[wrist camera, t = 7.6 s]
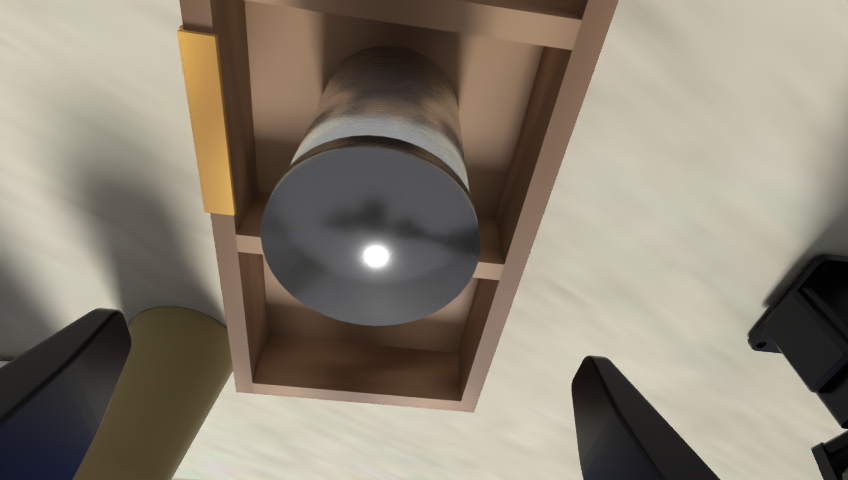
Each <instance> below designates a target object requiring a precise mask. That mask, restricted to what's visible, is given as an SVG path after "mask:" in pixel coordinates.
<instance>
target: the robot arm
mask: <svg viewBox="0 0 848 480" xmlns="http://www.w3.org/2000/svg"><path fill="white" fill-rule="evenodd" d="M131 344H132V341H131V336H130V333H129V330H128V327H127V324H126V321H125V317H124V315H123V313H122V312H121V311H120V310H114V309H104V308H98V309H95V310H92V311H91V312H89V313H87V314H86V315H84V316H83V317H81V318H79V319H78V320H76V321H75V322H73V323H71V324H70V325H68V326H66V327H65V328H63V329H62V330H60V331H58V332H57V333H55V334H54V335H52V336H50V337H49V338H47V339H46V340H44V341H42V342H41V343H39V344H38V345H36V346H34V347H33V348H31V349H29V350H28V351H26V352H25V353H23V354H21V355H20V356H18V357H17V358H15V359H13V360H12V361H10V362H9V363H7V364H5V365H4V366H2V367H0V480H73V478H74V476H75V474H76V473H77V471H78V469H79V467H80V465H81V463H82V461H83V459H84V457H85V455H86V453H87V452H88V450H89V448H90V446H91V444H92V442H93V440H94V438H95V436H96V434H97V432H98V430H99V428H100V426H101V424H102V421H103V419H104V417H105V414H106V412H107V409H108V407H109V404H110V401H111V399H112V396H113V394H114V391H115V389H116V386H117V384H118V381H119V378H120V376H121V373H122V371H123V368H124V366H125V363H126V361H127V358H128V355H129V353H130V350H131ZM748 344H749V345H750V346H751V348H752V349H753V350H755V351H763V352H773V353H782V354H783V355H784V357H785V358H786V359H787V361H788V362H789V363H790V365H791V366H792V367H793V369H794V370H795V371H796V373H797V374H798V376H799V377H800V378H801V380H802V381H803V382H804V384H805V385H806V386H807V388H808V389H809V390H810V391H811V392H814V393H816V394H817V395H818V397H819V398H820V399H821V401H822V402H823V403H824V405H825V406H826V407H827V409H828V410H829V412H830V413H831V414H832V416H833V417H834V418H835V420H836V421H837V422H838V424H839V425H840V426H841V428H844V429H848V257H843V256H834V255H821V256H818V257H816V258H814V259H813V260H812V261H811V262H810V263H809V264H808V266H807V267H806V268H805V269H804V271H803V272H802V273H801V274H800V276H799V277H798V278H797V279H796V281H795V282H794V283H793V284H792V286H791V287H790V288H789V289H788V290H787V292H786V293H785V294H784V295H783V297H782V298H781V299H780V300H779V302H778V303H777V304H776V305H775V307H774V308H773V309H772V310H771V312H770V313H769V314H768V315H767V316H766V318H765V319H764V320H763V321H762V323H761V324H760V325H759V326H758V328H757V329H756V330H755V331H754V333H753V334H752V335H751V336H750V338H749V339H748ZM572 399H573V408H574V417H575V425H576V434H577V443H578V451H579V458H580V465H581V470H582V475H583V479H584V480H720V479H719V478H718V477H717V476H716V474H715V473H714V472H713V471H712V470H711V469H710V468H709V467H708V466H707V465H706V464H705V463H704V461H703V460H702V459H701V458H700V457H699V456H698V455H697V454H696V453H695V452H694V451H693V450H692V448H691V447H690V446H689V445H688V444H687V443H686V442H685V441H684V440H683V439H682V438H681V437H680V435H679V434H678V433H677V432H676V431H675V430H674V429H673V428H672V427H671V426H670V425H669V424H668V422H667V421H666V420H665V419H664V418H663V417H662V416H661V415H660V414H659V413H658V412H657V411H656V410H655V408H654V407H653V406H652V405H651V404H650V403H649V402H648V401H647V400H646V399H645V398H644V397H643V395H642V394H641V393H640V392H639V391H638V390H637V389H636V388H635V387H634V386H633V385H632V384H631V382H630V381H629V380H628V379H627V378H626V377H625V376H624V375H623V374H622V373H621V372H620V371H619V369H618V368H617V367H616V366H615V365H614V364H613V363H612V362H611V361H610V360H609V359H608V358H606V357H600V356H587V357H585V358H584V360H583V361H582V363H581V365H580V367H579V369H578V371H577V373H576V375H575V377H574V379H573V381H572ZM811 450H812V453H813V455H814V457H815V460H816V462H817V464H818V467H819V470H820V472H821V475H822V477H823V479H824V480H848V430H847V431H846V432H844V433H842V434H840V435H839V436H837V437H835V438H833V439H831V440H830V441H828V442H826V443H820V444H818V445H816V446H814V447H812V448H811Z"/></svg>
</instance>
